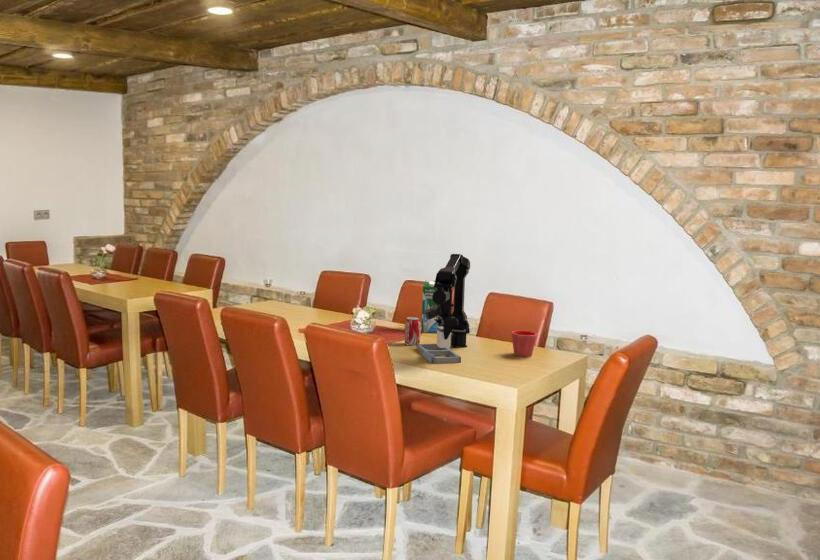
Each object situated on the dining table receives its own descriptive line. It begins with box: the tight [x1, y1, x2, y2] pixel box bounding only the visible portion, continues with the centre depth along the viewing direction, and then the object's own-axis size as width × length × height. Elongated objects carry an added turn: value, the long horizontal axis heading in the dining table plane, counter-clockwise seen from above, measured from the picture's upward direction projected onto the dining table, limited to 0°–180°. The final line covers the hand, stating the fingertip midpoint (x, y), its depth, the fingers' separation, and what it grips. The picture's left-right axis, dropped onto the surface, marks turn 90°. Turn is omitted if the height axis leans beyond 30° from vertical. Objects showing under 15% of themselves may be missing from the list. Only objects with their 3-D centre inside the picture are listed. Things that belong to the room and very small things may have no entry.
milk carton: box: [420, 279, 439, 334], centre depth 347 cm, size 9×9×25 cm
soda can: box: [404, 316, 422, 346], centre depth 316 cm, size 7×7×12 cm
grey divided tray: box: [416, 343, 462, 364], centre depth 296 cm, size 12×26×3 cm, turn 14°
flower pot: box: [511, 330, 537, 358], centre depth 301 cm, size 11×11×10 cm
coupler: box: [436, 326, 451, 349], centre depth 289 cm, size 5×5×8 cm
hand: (444, 338), depth 289 cm, fingers closed on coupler, 4 cm apart
